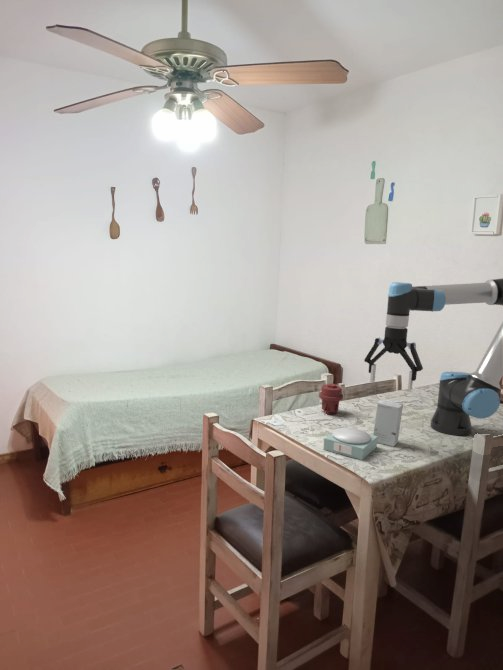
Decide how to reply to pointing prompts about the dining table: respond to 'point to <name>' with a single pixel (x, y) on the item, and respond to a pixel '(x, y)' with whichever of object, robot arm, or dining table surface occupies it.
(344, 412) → the dining table surface
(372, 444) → the kitchen scale
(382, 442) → the skincare box
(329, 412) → the mechanical component
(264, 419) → the dining table surface
